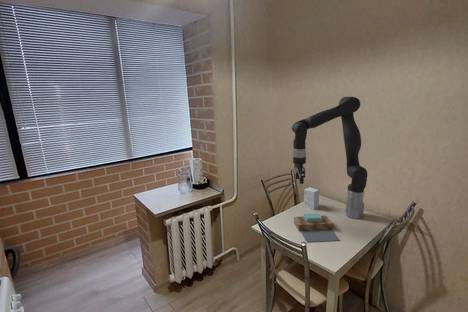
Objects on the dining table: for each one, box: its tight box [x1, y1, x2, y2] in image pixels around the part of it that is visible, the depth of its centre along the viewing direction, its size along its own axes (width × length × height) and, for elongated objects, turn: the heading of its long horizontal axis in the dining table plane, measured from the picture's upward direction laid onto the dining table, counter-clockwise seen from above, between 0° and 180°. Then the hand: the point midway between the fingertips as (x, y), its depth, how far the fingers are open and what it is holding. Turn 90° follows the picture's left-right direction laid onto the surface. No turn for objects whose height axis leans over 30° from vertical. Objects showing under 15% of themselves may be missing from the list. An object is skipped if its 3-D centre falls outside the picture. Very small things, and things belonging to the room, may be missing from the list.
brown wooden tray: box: [293, 214, 334, 232], centre depth 148 cm, size 20×10×4 cm, turn 92°
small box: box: [303, 186, 320, 211], centre depth 173 cm, size 8×6×13 cm
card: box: [303, 212, 322, 222], centre depth 148 cm, size 9×6×2 cm, turn 92°
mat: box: [300, 230, 341, 243], centre depth 138 cm, size 18×11×1 cm, turn 92°
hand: (299, 181), depth 152 cm, fingers open, 8 cm apart
